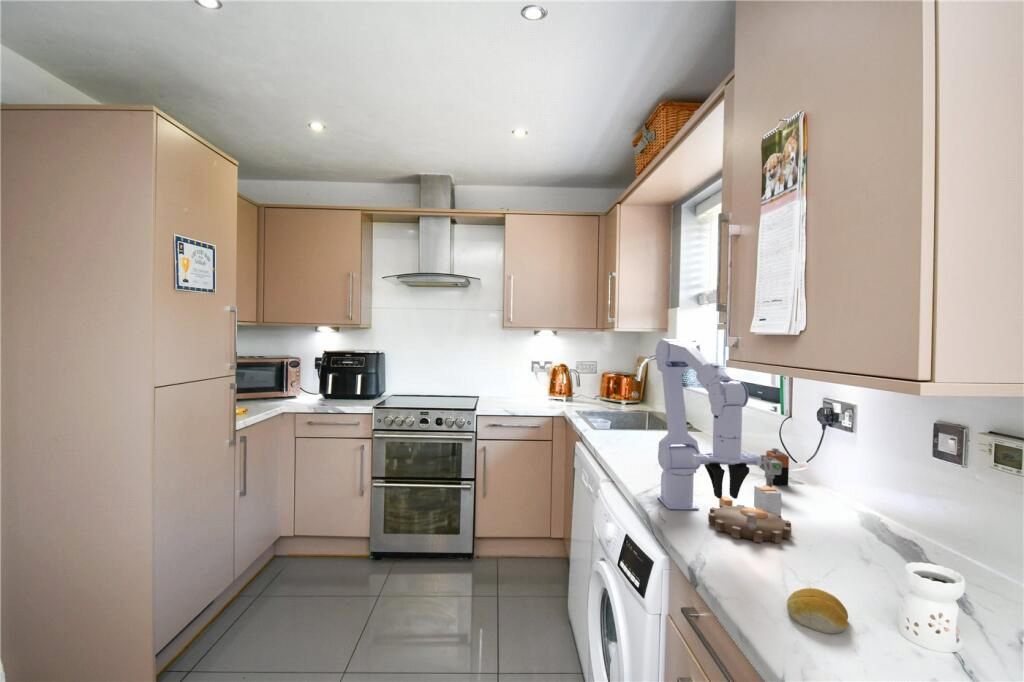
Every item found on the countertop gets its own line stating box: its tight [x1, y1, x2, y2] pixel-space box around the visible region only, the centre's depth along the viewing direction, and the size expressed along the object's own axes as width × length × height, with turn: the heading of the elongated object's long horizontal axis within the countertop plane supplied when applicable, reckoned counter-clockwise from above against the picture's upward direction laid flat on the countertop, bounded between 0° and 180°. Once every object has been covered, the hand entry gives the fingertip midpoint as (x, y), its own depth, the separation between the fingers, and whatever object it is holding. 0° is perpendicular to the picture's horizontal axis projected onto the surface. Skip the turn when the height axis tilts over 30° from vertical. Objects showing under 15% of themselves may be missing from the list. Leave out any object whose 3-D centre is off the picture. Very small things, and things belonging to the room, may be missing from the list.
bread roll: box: [786, 587, 849, 635], centre depth 76 cm, size 8×9×4 cm
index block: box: [718, 495, 733, 508], centre depth 123 cm, size 3×2×3 cm, turn 1°
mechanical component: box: [758, 454, 782, 487], centre depth 136 cm, size 3×10×10 cm, turn 174°
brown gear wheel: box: [707, 504, 792, 544], centre depth 111 cm, size 17×17×5 cm
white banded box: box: [753, 485, 782, 516], centre depth 121 cm, size 6×4×6 cm, turn 1°
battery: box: [765, 447, 790, 487], centre depth 147 cm, size 4×7×10 cm, turn 171°
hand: (725, 497), depth 105 cm, fingers open, 3 cm apart
